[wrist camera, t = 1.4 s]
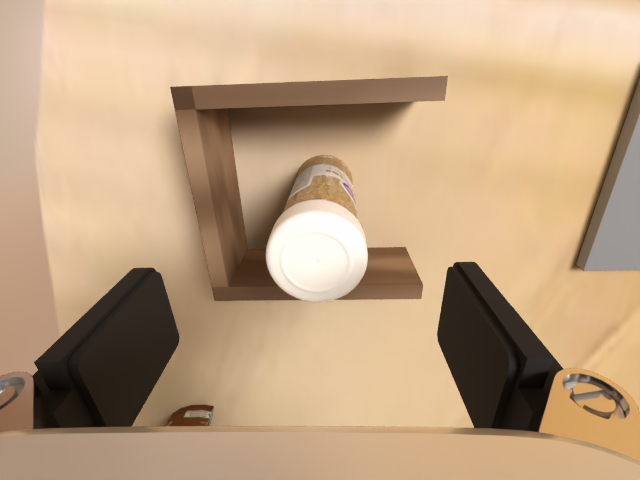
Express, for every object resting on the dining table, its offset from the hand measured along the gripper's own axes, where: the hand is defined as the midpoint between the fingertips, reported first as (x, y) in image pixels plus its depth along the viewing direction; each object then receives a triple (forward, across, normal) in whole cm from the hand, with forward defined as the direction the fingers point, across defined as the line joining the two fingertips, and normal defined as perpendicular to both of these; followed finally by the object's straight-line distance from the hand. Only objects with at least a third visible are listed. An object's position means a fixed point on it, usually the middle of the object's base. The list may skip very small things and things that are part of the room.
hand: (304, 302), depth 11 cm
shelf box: (+17, 0, +1) cm, 17 cm away
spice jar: (+17, 0, +1) cm, 17 cm away
